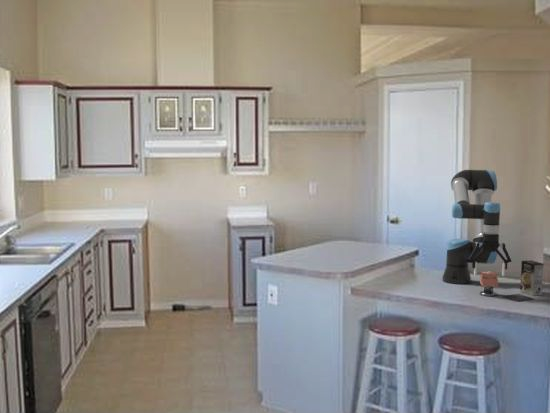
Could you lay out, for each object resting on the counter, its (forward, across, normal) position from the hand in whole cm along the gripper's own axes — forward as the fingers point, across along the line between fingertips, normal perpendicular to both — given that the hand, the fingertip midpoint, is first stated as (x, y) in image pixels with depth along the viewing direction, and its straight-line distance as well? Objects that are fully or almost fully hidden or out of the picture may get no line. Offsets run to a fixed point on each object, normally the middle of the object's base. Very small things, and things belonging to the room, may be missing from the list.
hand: (489, 275), depth 321 cm
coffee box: (+10, +22, +8) cm, 26 cm away
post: (+10, 0, +1) cm, 10 cm away
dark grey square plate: (+10, +13, -4) cm, 17 cm away
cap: (+5, 0, 0) cm, 5 cm away
